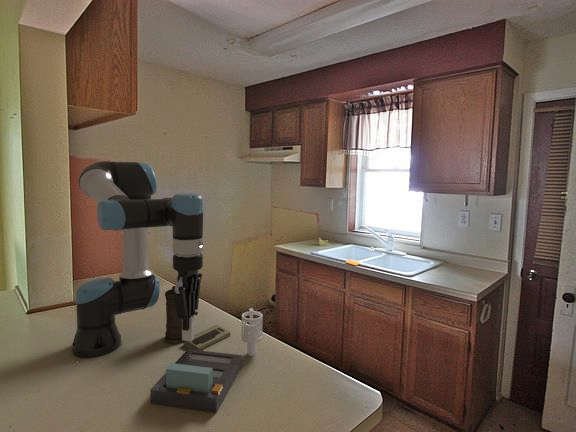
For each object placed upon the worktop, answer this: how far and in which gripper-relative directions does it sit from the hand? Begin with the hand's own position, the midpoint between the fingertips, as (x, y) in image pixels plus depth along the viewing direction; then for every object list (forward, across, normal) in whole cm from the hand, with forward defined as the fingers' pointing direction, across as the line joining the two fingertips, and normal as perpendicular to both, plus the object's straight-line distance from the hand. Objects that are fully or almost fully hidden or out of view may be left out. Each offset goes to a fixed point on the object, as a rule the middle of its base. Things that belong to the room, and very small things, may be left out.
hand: (188, 339), depth 93 cm
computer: (+18, +33, +8) cm, 38 cm away
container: (+18, +32, +20) cm, 42 cm away
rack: (+17, +7, 0) cm, 19 cm away
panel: (+16, 0, -1) cm, 16 cm away
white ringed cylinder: (+18, +27, -10) cm, 34 cm away
